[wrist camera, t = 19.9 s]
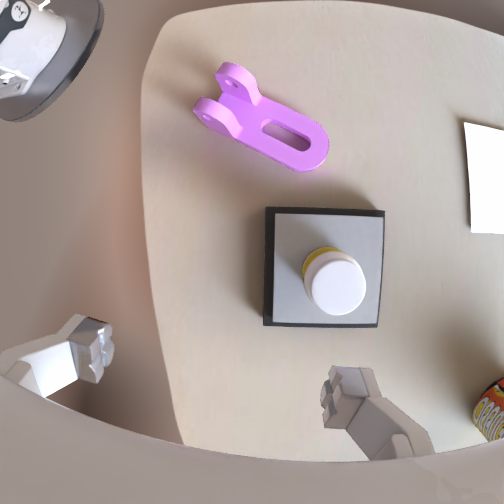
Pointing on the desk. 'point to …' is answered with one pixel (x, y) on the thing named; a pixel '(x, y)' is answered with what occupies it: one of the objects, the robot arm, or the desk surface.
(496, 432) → the beverage can
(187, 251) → the desk surface
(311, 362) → the desk surface
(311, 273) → the supplement bottle
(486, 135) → the paper
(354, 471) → the robot arm
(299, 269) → the scale
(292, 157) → the bracket
